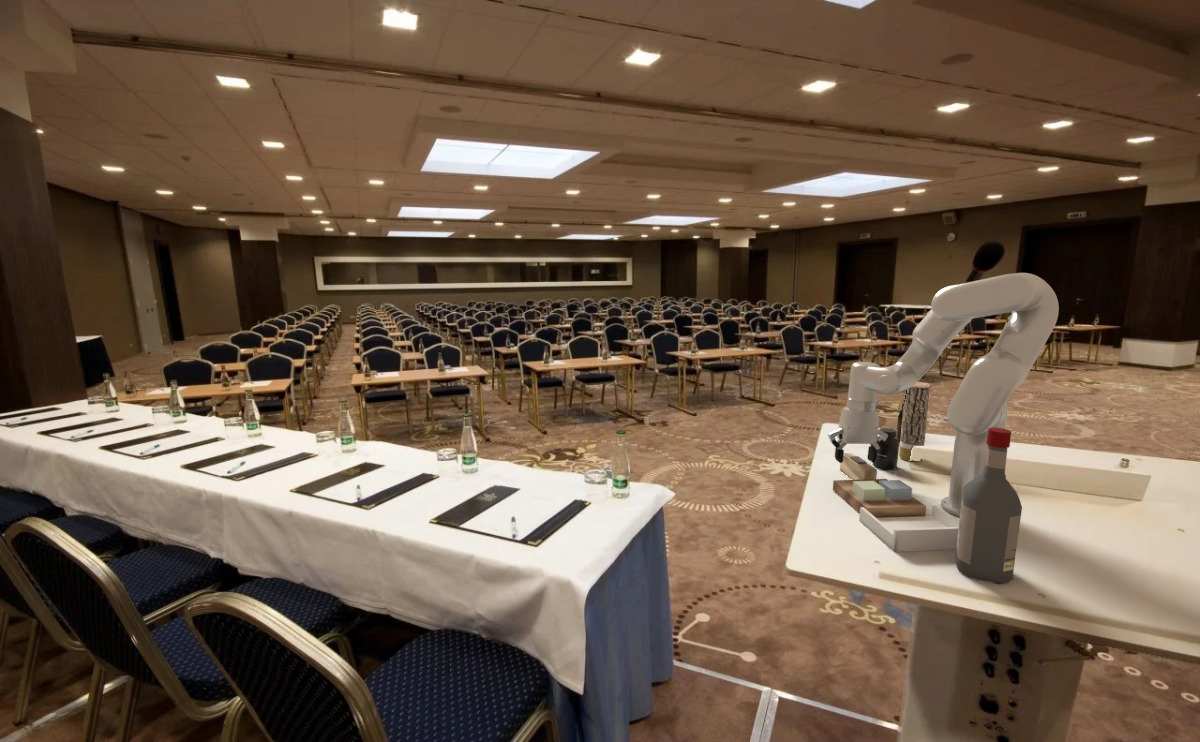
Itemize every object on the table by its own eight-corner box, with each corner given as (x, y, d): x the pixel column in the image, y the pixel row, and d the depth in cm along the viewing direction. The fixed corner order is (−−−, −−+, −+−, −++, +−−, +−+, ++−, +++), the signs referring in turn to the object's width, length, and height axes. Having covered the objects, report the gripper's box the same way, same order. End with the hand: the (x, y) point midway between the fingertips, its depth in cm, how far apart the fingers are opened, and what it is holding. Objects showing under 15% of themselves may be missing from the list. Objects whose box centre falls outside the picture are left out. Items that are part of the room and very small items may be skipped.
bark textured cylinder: (894, 457, 176) (900, 382, 172) (907, 454, 179) (914, 380, 174) (913, 463, 170) (920, 386, 166) (927, 460, 173) (935, 384, 168)
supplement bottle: (875, 469, 166) (878, 432, 164) (870, 462, 172) (872, 426, 170) (899, 471, 164) (903, 433, 162) (893, 463, 171) (896, 427, 169)
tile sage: (884, 500, 137) (885, 489, 136) (863, 500, 137) (863, 489, 136) (872, 491, 142) (873, 480, 142) (852, 492, 142) (853, 481, 142)
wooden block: (850, 471, 165) (852, 451, 164) (875, 489, 151) (877, 467, 150) (839, 471, 165) (841, 451, 164) (863, 490, 151) (864, 467, 150)
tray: (978, 548, 118) (980, 527, 118) (893, 551, 118) (895, 530, 117) (934, 518, 133) (936, 499, 132) (859, 520, 133) (860, 501, 132)
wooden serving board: (925, 517, 134) (926, 506, 133) (866, 519, 133) (867, 508, 133) (885, 488, 151) (885, 478, 151) (832, 490, 151) (833, 480, 150)
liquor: (956, 575, 108) (973, 433, 103) (954, 555, 116) (969, 421, 111) (1013, 588, 104) (1033, 439, 98) (1006, 566, 112) (1025, 427, 106)
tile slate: (911, 499, 137) (912, 488, 137) (890, 499, 137) (890, 488, 137) (898, 490, 143) (899, 480, 142) (878, 491, 142) (879, 480, 142)
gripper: (883, 401, 158) (877, 456, 162) (826, 401, 158) (820, 456, 161) (898, 408, 151) (891, 465, 154) (837, 408, 150) (831, 466, 154)
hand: (855, 461), depth 158 cm, fingers open, 9 cm apart
